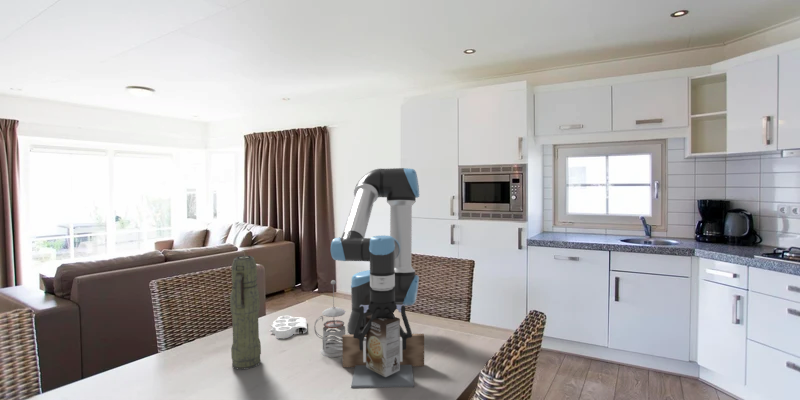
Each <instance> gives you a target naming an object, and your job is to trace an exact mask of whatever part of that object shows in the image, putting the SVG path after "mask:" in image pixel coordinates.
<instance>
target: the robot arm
mask: <svg viewBox="0 0 800 400" xmlns="http://www.w3.org/2000/svg"><path fill="white" fill-rule="evenodd" d="M419 187H420V185H419V179H418V174H417V171H416V170H415V169H414V168H409V167H408V168H407V167H406V168H404V167H401V168H400V167H399V168H395V167H394V168H377V169H372V170H371V171H368V172H367V173H365V175H363V176H361V178H360V179H359V180H358V182H357V183H356V186H355V188H354V189H353V197H354V198H353V201H352V204H351V207H350V210H349V213H348V217H347V219H346V223H345V226H344V229H343V231H342V234H341V237H334V238H333V239H332V240H331V242H330V254H331V258H332V259H333V260H334V261H338V262H339V261H341V262H369V269H368V270H363V271H362V270H361V271H359V272H356V273H354V274H353V275H352V277H351V281H350V283H351V285H350V288H351V289H350V290H351V291H350V293H351V297H350V298H351V311H350V315H349V319H348V321H347V329H346V330H347V333H349V335H353V337H354V338H357V339H359V347H360V350H363V362H366V337H365V335H366V334H367V332H368V330H369V329H370V327H371V325H372V321H373V320H374V319H376V318H389V319H394V317H396V316H395V314H394V313H395V312H396V310H398V313H401V318H402V321H403V325H404V327H405V330H404V328H402V326H401V325H400V336H401V337H400V362H402V350H406V339H407V338H411V337H412V334H413V333H412V329H411V326H410V323H409V320H408V315H407V313H406V306H413V305H415V304H416V301H417V297H418V289H419V280H420V277H419V275H417V274H416V270H415V268H414V267H412V243H413V242H412V235H413V232H412V231H413V230H412V228H413V227H412V225H413V224H412V223H413V220H412V218H413V215H412V213H413V212H412V210H413V209H412V208H413V206H414V204H415V203H416V198H417V199H418V198H419V197H420V188H419ZM379 198H386V203H387V204H388V205H389V206H390V214H389V215H390V216H389V217H390V219H389V221H390V222H389V226H390V227H389V235H375V236H371V237H370V238H369V237H368V238H365V237H366V232H367V229H368V225H369V221H370V218H371V213H372V211H373V207H374V203H376V202H377V200H378V199H379ZM369 315H371V319H370V320H369V322H368V323H367V324H366V317H367V316H369Z"/></svg>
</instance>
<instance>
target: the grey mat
mask: <svg viewBox="0 0 800 400" xmlns="http://www.w3.org/2000/svg"><path fill="white" fill-rule="evenodd" d="M414 381H415V380H414V375H413V366H412V365H400V371H397V372H395V373H393V374H391V375H389V376H387V377H384V376H382V375H380V374H378V373H376V372H374V371H372V370H371V369H369V368H367V367H366V365H355V367H354V371H353V375H352V380H351V384H350V386H351V387H350V388H353V389H354V388H358V389H359V388H414V387H415V383H414Z"/></svg>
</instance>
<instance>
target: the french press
mask: <svg viewBox="0 0 800 400" xmlns="http://www.w3.org/2000/svg"><path fill="white" fill-rule="evenodd" d="M330 284H331V285H332V293H333V294H332V295H333V296H332V298H333V300H332V301H333V306H331V307H328V308H326V309H324V310H322V312H321V314H322V315H321V316H319V317H317V318H316V320H315V322H314V326H313V328H314V329H313V330H314V334H315V335H316V337H318V338H319V339H322V348H321V349H320V351H319V353H320V355H321V356H324V357H328V358H330V357H331V358H335V357H341V356H343V348H342V336H343V335H346V326H345V322H344V321H343V320H340V319H339V320H338V319H337V320H335V319H333V320H332V319H331V320H327V321H326V322H324V323H323V328H322V335H320V334H319V333H318V332H317V330H316V324H317V322H319V320H321V321H322V322H323V321H324V316H325V317H328V318H335V317H342V316H344V315H345V313H346V310H345V309H343V308H341V307H339V306H338V307H337V306H335V293H334V292H335V289H334V285H336V284H337V281H336V280H334V279H332V280H331V281H330Z"/></svg>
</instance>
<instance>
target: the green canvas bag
mask: <svg viewBox="0 0 800 400" xmlns="http://www.w3.org/2000/svg"><path fill="white" fill-rule="evenodd" d="M257 280H258V265H257V262H256V260H255V258H254V257H253V256H251V255H241V256H236V257H235V258H233V261H232V264H231V283H232V286H231V293H230V295H229V299H230V301H229V302H230V305H229V306H230V308H229V309H230V313H231V318H232V321H231V322H232V323H231V324H232V344H231V347H230V349H231V351H230V352H231V360H232V363H231V366H232V368H233V367H234V369H235V368H238V369H237V370H245V369H244V368H249V369H252V368H255V367H256V365H257V366H259V364H260V363H261V355H262V347H261V340H260V337H259V335H260V333H259V330H260V329H259V328H260V327H259V311H260V291H259V288H258V283H257ZM254 366H255V367H254ZM251 367H252V368H251Z"/></svg>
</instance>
